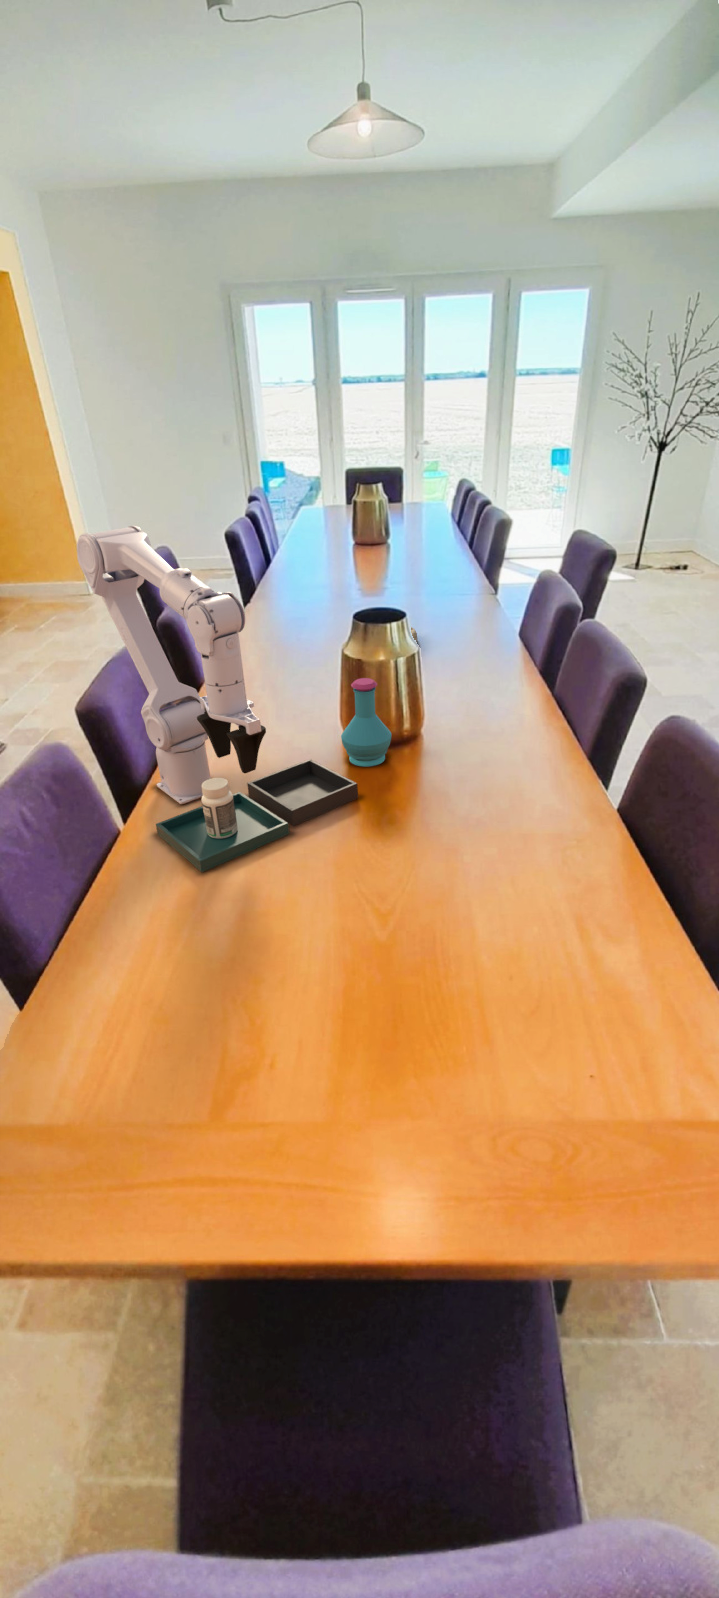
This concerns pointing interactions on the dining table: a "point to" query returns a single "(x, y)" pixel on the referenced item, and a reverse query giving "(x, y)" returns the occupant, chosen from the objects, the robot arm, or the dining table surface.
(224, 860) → the tray
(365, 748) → the perfume bottle
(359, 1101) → the dining table surface
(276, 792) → the bin
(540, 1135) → the dining table surface
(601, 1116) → the dining table surface
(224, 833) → the pill bottle
